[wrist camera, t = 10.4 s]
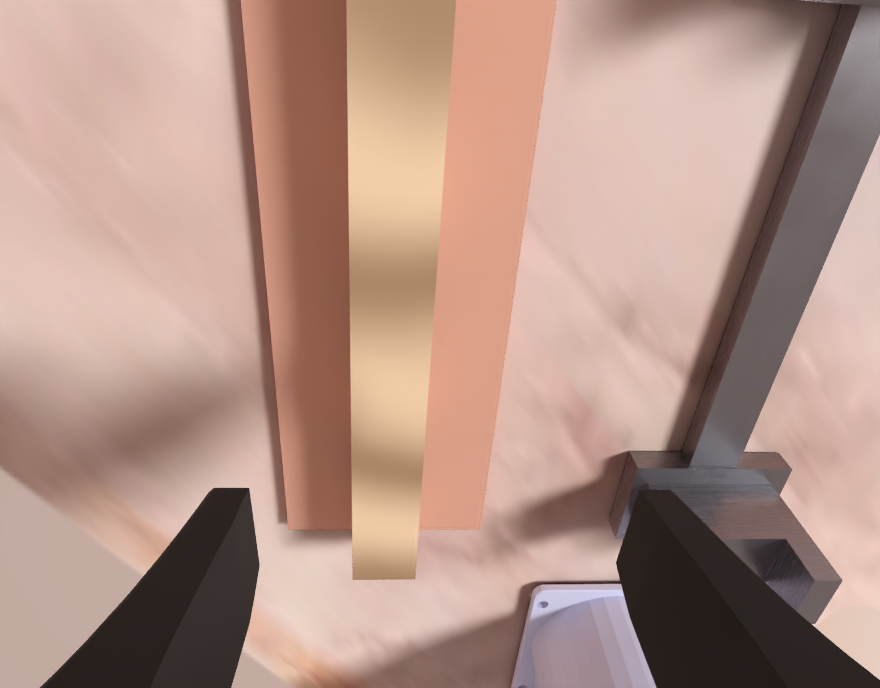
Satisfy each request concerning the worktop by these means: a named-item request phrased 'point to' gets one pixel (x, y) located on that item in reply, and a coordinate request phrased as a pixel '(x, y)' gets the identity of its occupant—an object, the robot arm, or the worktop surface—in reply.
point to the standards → (775, 331)
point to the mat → (327, 243)
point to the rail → (393, 263)
